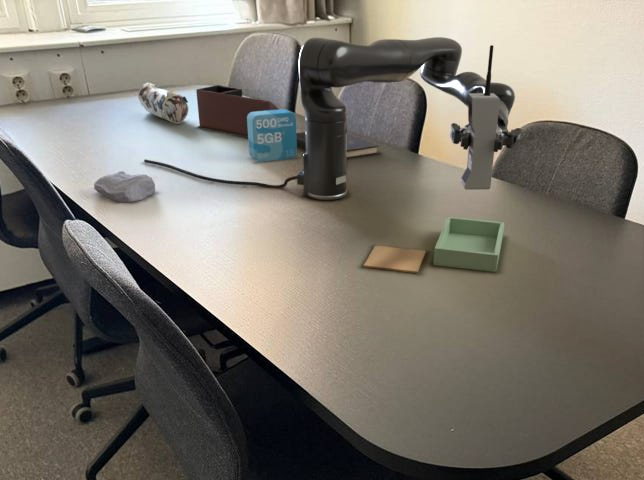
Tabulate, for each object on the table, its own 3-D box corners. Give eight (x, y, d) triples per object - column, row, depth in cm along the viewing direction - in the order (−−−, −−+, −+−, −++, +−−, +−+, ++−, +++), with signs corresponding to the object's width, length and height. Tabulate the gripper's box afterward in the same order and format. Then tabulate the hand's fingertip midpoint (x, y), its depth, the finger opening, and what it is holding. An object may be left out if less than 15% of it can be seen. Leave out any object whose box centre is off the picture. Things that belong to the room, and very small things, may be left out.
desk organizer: (220, 121, 223) (217, 84, 217) (294, 136, 210) (293, 96, 204) (197, 128, 216) (193, 89, 210) (272, 143, 203) (270, 102, 197)
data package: (255, 162, 185) (252, 115, 179) (249, 158, 188) (246, 112, 182) (297, 158, 190) (296, 111, 184) (291, 153, 193) (289, 108, 187)
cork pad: (363, 267, 129) (363, 265, 129) (375, 247, 138) (375, 245, 137) (417, 273, 127) (417, 271, 127) (426, 252, 136) (426, 250, 136)
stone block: (132, 211, 156) (160, 190, 163) (125, 192, 153) (154, 171, 160) (92, 204, 161) (120, 184, 167) (84, 185, 157) (113, 165, 164)
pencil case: (191, 122, 221) (188, 89, 216) (166, 126, 217) (162, 92, 212) (163, 109, 236) (159, 78, 231) (138, 112, 232) (134, 81, 226)
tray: (433, 264, 131) (434, 248, 129) (446, 231, 146) (447, 216, 144) (496, 272, 129) (498, 255, 127) (502, 237, 144) (504, 222, 142)
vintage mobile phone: (460, 184, 136) (472, 43, 123) (486, 183, 137) (500, 43, 124) (464, 190, 133) (476, 46, 120) (490, 189, 134) (505, 46, 120)
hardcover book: (333, 135, 211) (333, 127, 210) (378, 153, 195) (378, 145, 194) (286, 142, 203) (286, 134, 202) (329, 161, 188) (329, 153, 186)
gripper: (521, 146, 143) (517, 169, 129) (451, 140, 146) (440, 162, 132) (527, 107, 139) (523, 127, 125) (454, 102, 142) (443, 121, 128)
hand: (480, 145), depth 128 cm, fingers closed on vintage mobile phone, 5 cm apart
